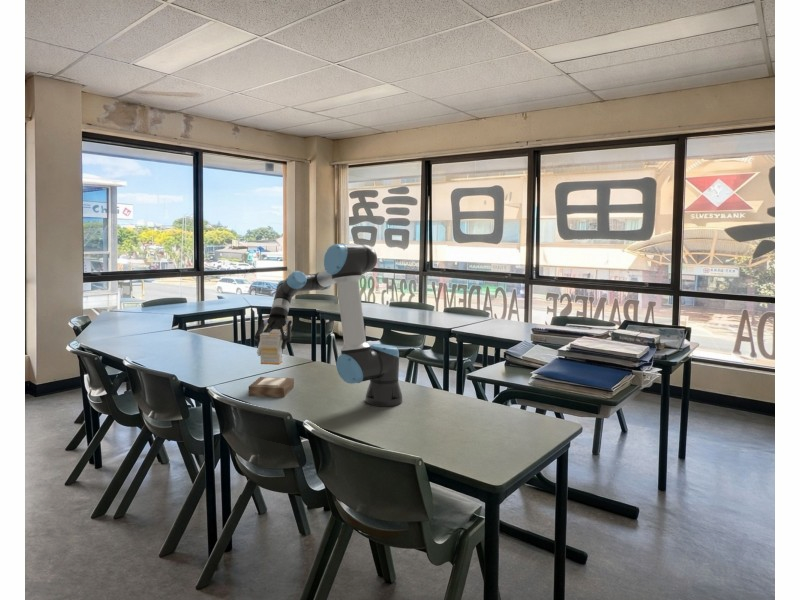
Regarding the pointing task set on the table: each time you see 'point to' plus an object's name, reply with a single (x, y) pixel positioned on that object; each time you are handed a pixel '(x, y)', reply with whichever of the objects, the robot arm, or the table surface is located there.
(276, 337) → the supplement box
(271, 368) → the table surface
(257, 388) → the walnut base
